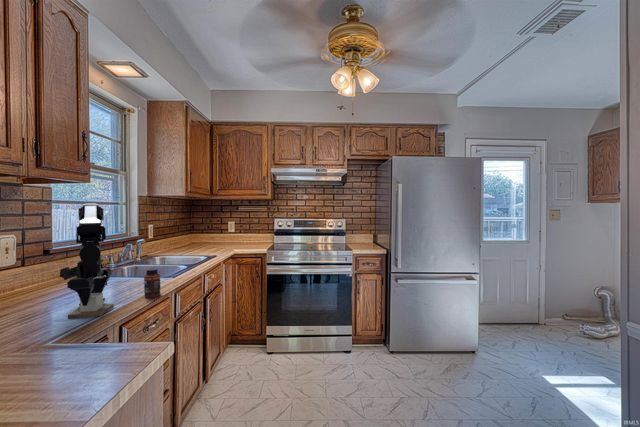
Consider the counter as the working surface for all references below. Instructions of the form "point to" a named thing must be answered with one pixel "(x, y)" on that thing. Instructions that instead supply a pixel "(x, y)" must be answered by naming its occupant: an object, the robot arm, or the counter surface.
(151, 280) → the supplement bottle
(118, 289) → the counter surface
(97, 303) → the cube
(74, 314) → the brown square tile
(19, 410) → the counter surface
